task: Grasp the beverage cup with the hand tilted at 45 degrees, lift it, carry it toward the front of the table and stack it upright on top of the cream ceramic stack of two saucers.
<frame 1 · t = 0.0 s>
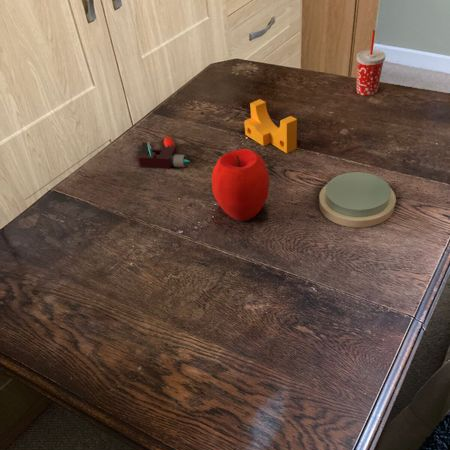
saucer stack: (356, 204, 87), on the table
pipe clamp: (270, 142, 104), on the table
apple: (243, 214, 89), on the table
toy gun: (168, 158, 104), on the table
beverage cup: (366, 96, 114), on the table
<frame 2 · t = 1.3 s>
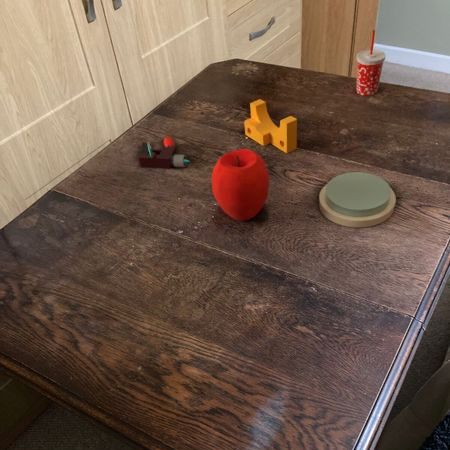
nothing on the table moved.
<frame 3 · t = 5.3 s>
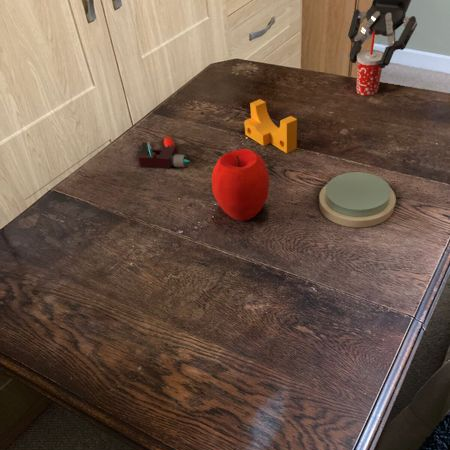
hand: (367, 63, 107), 8 cm above the table, tool tilted 45°, fingers closed on beverage cup, 6 cm apart
beverage cup: (366, 96, 114), on the table, touching gripper
everything else where it was.
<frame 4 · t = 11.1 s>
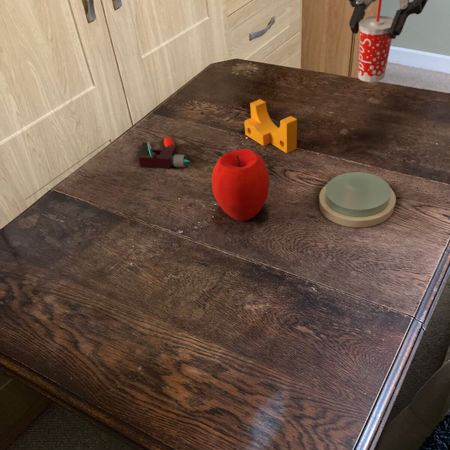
hand: (372, 33, 82), 22 cm above the table, tool tilted 45°, fingers closed on beverage cup, 6 cm apart
beverage cup: (370, 77, 89), point 14 cm above the table, touching gripper
everything else where it was.
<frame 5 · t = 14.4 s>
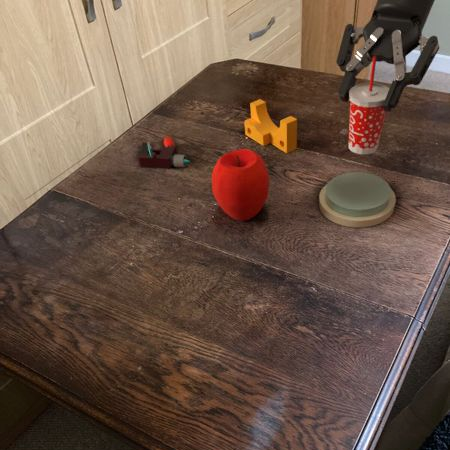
hand: (364, 104, 73), 19 cm above the table, tool tilted 45°, fingers closed on beverage cup, 6 cm apart
beverage cup: (362, 147, 79), point 11 cm above the table, touching gripper
everything else where it was.
when the fingers open (11 cm above the table, at t = 17.2 s): beverage cup stays where it is, resting on saucer stack.
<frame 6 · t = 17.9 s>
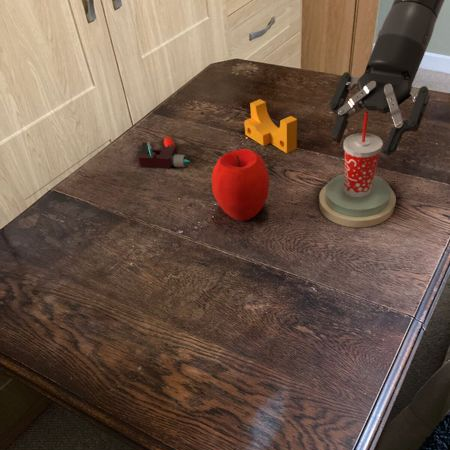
hand: (360, 147, 78), 12 cm above the table, tool tilted 45°, fingers open, 8 cm apart
beverage cup: (357, 190, 85), point 3 cm above the table, touching saucer stack
everything else where it was.
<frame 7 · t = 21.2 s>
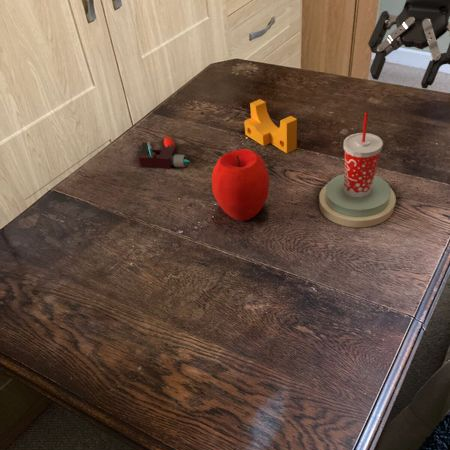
hand: (398, 82, 82), 16 cm above the table, tool tilted 45°, fingers open, 8 cm apart
nothing on the table moved.
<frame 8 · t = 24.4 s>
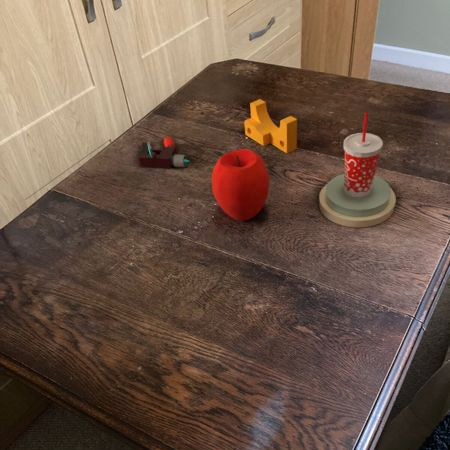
nothing on the table moved.
at the end: beverage cup 0.1 cm off-centre on the saucer stack, point 2.8 cm above the saucer stack's base; beverage cup tilted 0°; the gripper is holding nothing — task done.
